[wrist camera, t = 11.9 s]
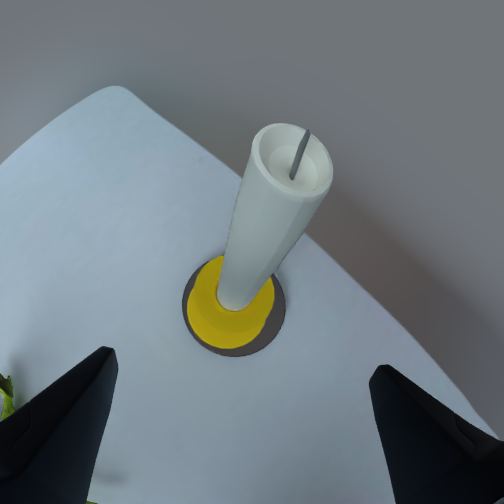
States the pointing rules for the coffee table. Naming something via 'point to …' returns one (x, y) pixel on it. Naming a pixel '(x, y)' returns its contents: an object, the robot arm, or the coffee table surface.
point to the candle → (260, 234)
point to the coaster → (266, 333)
